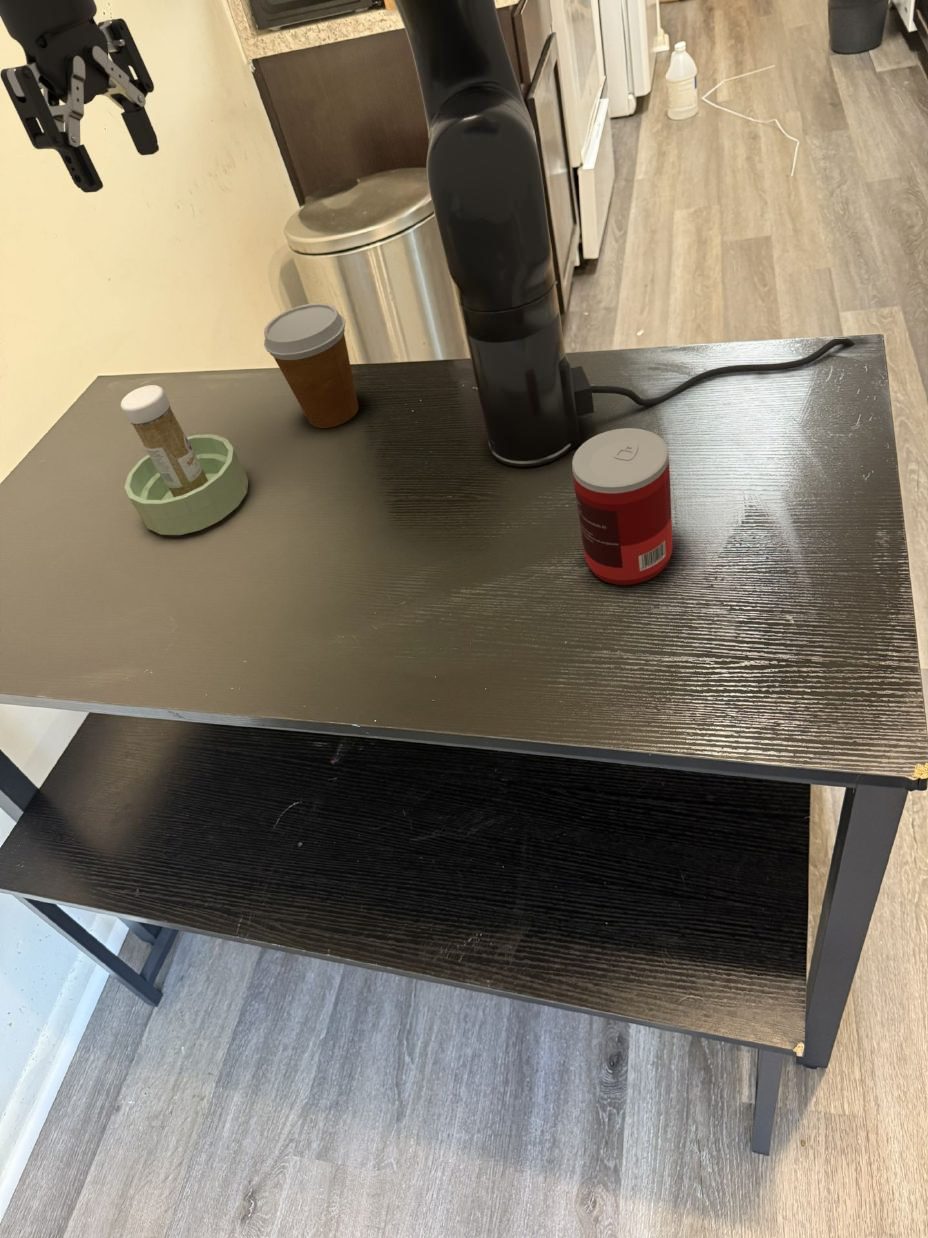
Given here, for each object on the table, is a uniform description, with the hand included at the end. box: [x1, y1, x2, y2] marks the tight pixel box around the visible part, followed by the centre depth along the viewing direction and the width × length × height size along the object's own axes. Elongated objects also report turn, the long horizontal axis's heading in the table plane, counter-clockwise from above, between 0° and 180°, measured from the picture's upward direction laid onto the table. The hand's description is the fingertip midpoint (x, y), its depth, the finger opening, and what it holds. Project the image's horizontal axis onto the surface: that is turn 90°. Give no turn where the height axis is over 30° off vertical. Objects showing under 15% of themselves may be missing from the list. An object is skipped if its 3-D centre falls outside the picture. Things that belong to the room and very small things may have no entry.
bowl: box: [124, 434, 249, 536], centre depth 96 cm, size 12×12×5 cm
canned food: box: [571, 427, 674, 586], centre depth 73 cm, size 8×8×11 cm
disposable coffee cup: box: [263, 302, 359, 429], centre depth 101 cm, size 10×10×12 cm
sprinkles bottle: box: [120, 384, 208, 497], centre depth 92 cm, size 5×5×14 cm
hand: (122, 171), depth 80 cm, fingers open, 8 cm apart
